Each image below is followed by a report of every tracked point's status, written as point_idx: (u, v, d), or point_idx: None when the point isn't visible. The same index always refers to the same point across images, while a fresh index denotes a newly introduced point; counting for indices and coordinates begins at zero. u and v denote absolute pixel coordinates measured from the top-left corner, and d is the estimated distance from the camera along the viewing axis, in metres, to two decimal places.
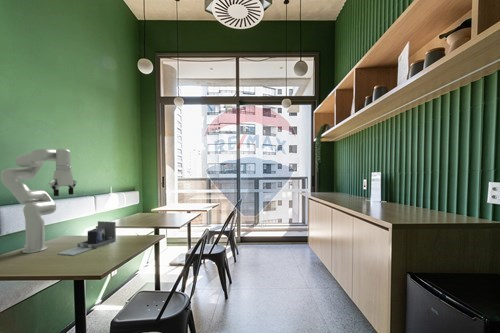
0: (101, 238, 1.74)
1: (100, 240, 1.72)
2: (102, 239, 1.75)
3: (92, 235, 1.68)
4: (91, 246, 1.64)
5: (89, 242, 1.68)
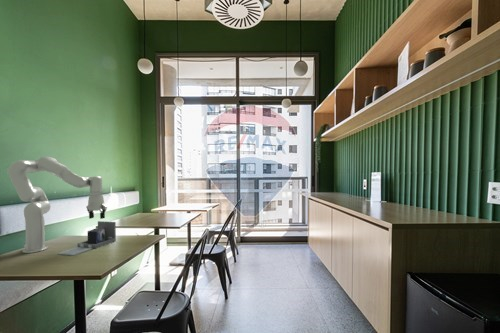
0: (101, 238, 1.74)
1: (100, 240, 1.72)
2: (102, 239, 1.75)
3: (92, 235, 1.68)
4: (91, 246, 1.64)
5: (89, 242, 1.68)
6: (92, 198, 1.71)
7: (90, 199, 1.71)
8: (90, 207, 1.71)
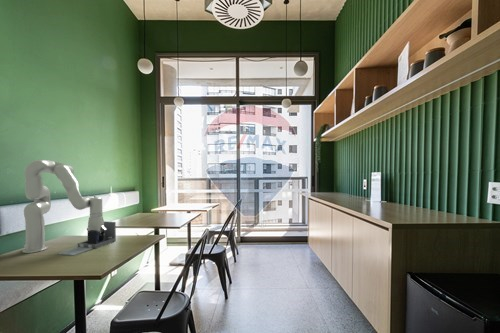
0: None
1: None
2: None
3: (92, 235, 1.68)
4: (91, 246, 1.64)
5: (89, 242, 1.68)
6: (92, 219, 1.71)
7: (90, 220, 1.71)
8: (90, 228, 1.71)
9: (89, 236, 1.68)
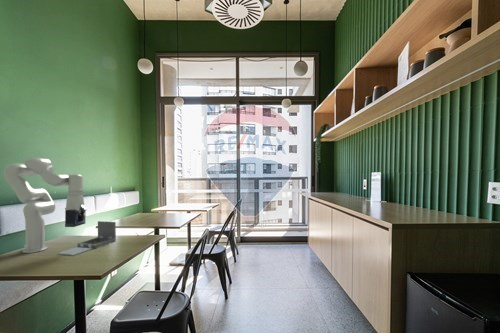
0: None
1: None
2: None
3: (70, 215, 1.54)
4: (91, 246, 1.64)
5: (67, 222, 1.54)
6: (71, 198, 1.56)
7: (68, 199, 1.57)
8: (68, 208, 1.57)
9: (67, 216, 1.54)
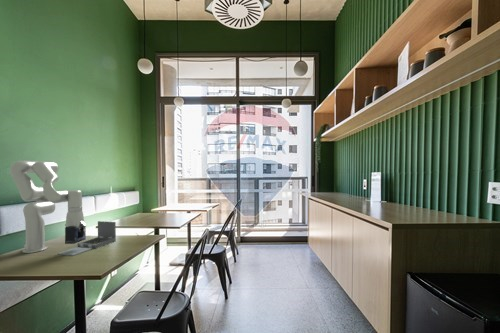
0: None
1: None
2: None
3: (70, 232, 1.53)
4: (91, 246, 1.64)
5: (67, 239, 1.53)
6: (70, 214, 1.56)
7: (68, 215, 1.56)
8: (68, 224, 1.56)
9: (67, 232, 1.53)
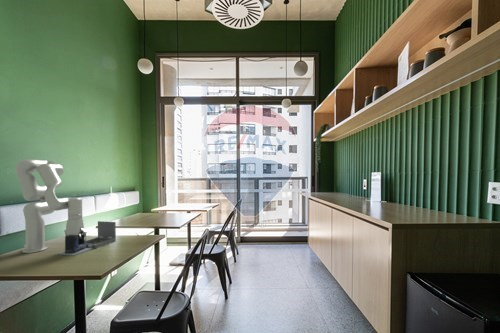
0: (81, 244, 1.58)
1: (79, 245, 1.57)
2: (82, 245, 1.59)
3: (69, 241, 1.53)
4: (91, 246, 1.64)
5: (67, 248, 1.53)
6: (70, 222, 1.56)
7: (68, 223, 1.56)
8: (68, 232, 1.56)
9: (67, 242, 1.53)
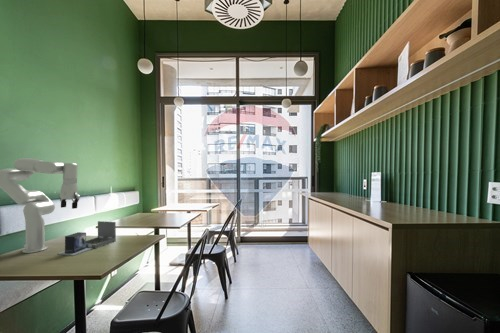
0: (81, 244, 1.58)
1: (79, 245, 1.57)
2: (82, 245, 1.59)
3: (69, 241, 1.53)
4: (91, 246, 1.64)
5: (66, 248, 1.53)
6: (65, 186, 1.59)
7: (63, 187, 1.60)
8: (62, 195, 1.60)
9: (66, 242, 1.53)
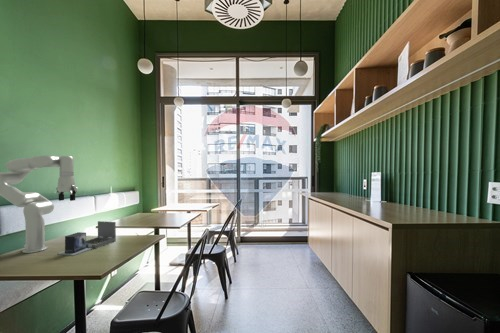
0: (81, 244, 1.58)
1: (79, 245, 1.57)
2: (82, 245, 1.59)
3: (69, 241, 1.53)
4: (91, 246, 1.64)
5: (66, 248, 1.53)
6: (62, 179, 1.61)
7: (60, 180, 1.62)
8: (59, 188, 1.62)
9: (67, 242, 1.53)
